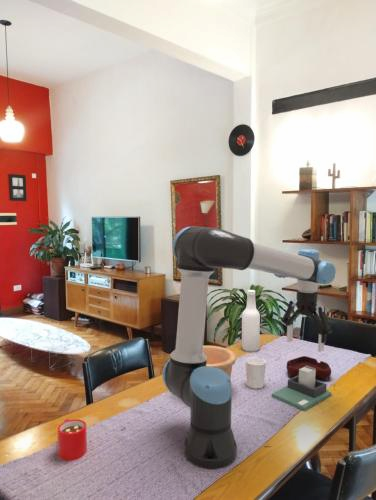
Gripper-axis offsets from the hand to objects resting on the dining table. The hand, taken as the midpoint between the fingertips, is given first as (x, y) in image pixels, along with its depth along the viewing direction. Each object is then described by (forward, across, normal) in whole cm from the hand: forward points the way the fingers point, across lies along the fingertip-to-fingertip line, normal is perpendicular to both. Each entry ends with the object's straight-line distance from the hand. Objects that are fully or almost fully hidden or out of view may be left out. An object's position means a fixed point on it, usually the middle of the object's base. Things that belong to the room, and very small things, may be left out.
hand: (304, 346), depth 149 cm
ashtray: (+18, +9, -17) cm, 27 cm away
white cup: (+19, +16, +9) cm, 26 cm away
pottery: (+19, +25, +27) cm, 41 cm away
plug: (+17, -1, -1) cm, 17 cm away
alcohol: (+18, +44, -21) cm, 52 cm away
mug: (+20, +24, +83) cm, 88 cm away
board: (+18, -1, +3) cm, 19 cm away
